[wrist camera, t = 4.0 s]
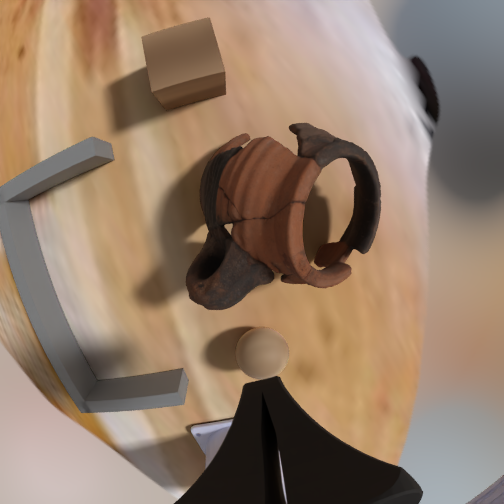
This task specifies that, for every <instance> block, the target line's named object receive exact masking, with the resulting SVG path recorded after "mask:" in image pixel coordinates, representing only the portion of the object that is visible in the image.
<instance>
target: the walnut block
mask: <svg viewBox="0 0 504 504" xmlns="http://www.w3.org/2000/svg"><path fill="white" fill-rule="evenodd" d="M142 42H143V48H144V54H145V60H146V65H147V71H148V76H149V81H150V86H151V91H152V93H153V94H154V96H155V97H156V98H157V99H158V101H159V102H160V103H161V104H162V106H163V107H164V108H165V110H166V111H167V110H170V109H173V108H177V107H180V106H183V105H187V104H190V103H194V102H197V101H201V100H205V99H209V98H213V97H217V96H221V95H225V94H226V81H225V69H224V65H223V62H222V58H221V55H220V51H219V48H218V44H217V41H216V37H215V34H214V30H213V27H212V23H211V20H210V18H205V19H201V20H197V21H193V22H189V23H185V24H181V25H177V26H174V27H170V28H167V29H164V30H160V31H157V32H154V33H151V34H148V35H145V36H142Z"/></svg>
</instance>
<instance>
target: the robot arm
mask: <svg viewBox="0 0 504 504" xmlns="http://www.w3.org/2000/svg"><path fill="white" fill-rule="evenodd" d="M191 433H192V434H193V436H194V438H195V439H196V441H197V443H198V444H199V446H200V447H201V449H202V451H203V452H204V454H205V455H206V464H205V471H204V472H203V473H202V475H201V476H200V477H199V478H198V480H197V481H196V482H195V483H194V484H193V485H192V486H191V487H190V488H189V489H188V490H187V492H186V493H185V494H184V495H183V496H182V497H181V498H180V499H179V500H178V501H176V502H175V503H174V504H419V502H420V500H421V498H422V495H423V491H422V489H421V487H420V486H419V484H418V483H417V482H416V481H415V480H414V479H413V478H412V477H411V476H410V475H409V474H408V473H407V472H406V471H405V470H404V469H403V468H401V467H398V466H395V465H392V464H389V463H386V462H384V461H381V460H378V459H376V458H374V457H371V456H369V455H367V454H365V453H363V452H361V451H359V450H357V449H355V448H353V447H352V446H350V445H348V444H346V443H344V442H343V441H341V440H340V439H338V438H337V437H335V436H334V435H332V434H331V433H330V432H328V431H327V430H325V429H324V428H323V427H322V426H320V425H319V424H318V423H317V422H316V421H315V420H314V419H312V418H311V417H310V416H309V415H308V414H307V413H306V412H305V411H304V410H303V409H302V408H301V407H300V405H299V404H298V403H297V402H296V401H295V400H294V399H293V397H292V396H291V395H290V393H289V392H288V391H287V389H286V388H285V386H284V385H283V383H282V381H281V378H280V377H278V376H274V377H271V378H267V379H263V380H259V381H255V382H250V383H246V384H245V385H244V386H243V390H242V394H241V398H240V401H239V405H238V408H237V411H236V413H235V416H234V419H231V420H225V421H219V422H213V423H207V424H200V425H194V426H192V427H191ZM197 433H200V434H197ZM466 504H504V475H503V476H502V477H501V478H499V479H498V480H497V481H496V482H495V483H494V484H492V485H491V486H489V487H488V488H487V489H486V490H484V491H483V492H482V493H481V494H479V495H478V496H476V497H475V498H473V499H472V500H471V501H469V502H468V503H466Z"/></svg>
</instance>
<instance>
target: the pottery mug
mask: <svg viewBox="0 0 504 504" xmlns="http://www.w3.org/2000/svg"><path fill="white" fill-rule="evenodd" d="M289 129H290V131H291V132H292V133H294V134H296V135H297V141H298V156H296V155H294V154H293V153H292V152H291V151H290V150H289V149H288V148H286V147H284V146H283V145H282V144H280V143H279V142H277V141H275V140H274V139H273V138H271V137H269V136H267V137H262V138H256V139H253V140H252V141H251V142H250V143H248V145H247V146H246V147H245V148H242V147H241V145H243V144H244V143H246V142H248V141H249V140H250V136H249V135H248V134H246V133H245V134H241V135H239V136H237V137H235V138H233V139H232V140H230V141H229V142H228V143H226V144H225V145H223V146H222V147H221V148H220V149H219V150H218V151H217V152H216V153H215V154H214V155H213V157H212V158H211V160H210V161H209V162H208V164H207V166H206V168H205V170H204V173H203V176H202V179H201V185H200V203H201V206H202V210H203V213H204V216H205V220H206V225H207V227H208V230H209V232H208V234H207V239H206V242H205V244H204V246H203V248H202V250H201V252H200V253H199V254H198V256H197V257H196V258H195V260H194V261H193V263H192V264H191V266H190V268H189V270H188V273H187V276H186V286H187V289H188V291H189V297H190V299H191V300H192V301H194V302H195V303H197V304H199V305H202V306H204V307H205V308H206V309H209V310H223V309H227V308H230V307H232V306H234V305H235V304H237V303H238V302H240V301H241V300H242V299H243V298H244V297H245V296H246V295H247V294H248V293H249V292H250V291H251V290H252V289H254V288H255V287H257V286H259V285H262V284H268V283H271V282H272V281H273V279H274V273H273V272H272V270H273V271H275V272H277V273H283V275H282V276H281V281H282V282H284V283H290V284H308V285H312V286H314V287H318V288H327V287H332V286H334V285H337V284H339V283H341V282H342V281H344V280H345V279H347V278H348V277H349V276H350V274H351V267H350V266H349V265H348V264H345V263H344V262H345V261H346V260H347V258H348V257H349V255H350V254H351V252H352V250H353V249H356V250H358V251H359V252H360V253H362V254H365V253H367V252H368V251H369V249H370V248H371V245H372V243H373V240H374V238H375V234H376V231H377V228H378V223H379V219H380V211H381V200H380V197H381V190H380V187H381V185H380V182H379V178H378V172H377V170H376V167H375V165H374V162H373V160H372V159H371V157H370V156H369V155H368V153H367V152H366V151H364V150H363V149H362V148H361V147H359V146H357V145H355V144H354V143H352V142H348V141H345V140H341V139H339V138H335V137H334V136H333V135H331V134H329V133H328V132H327V131H325V130H322V129H318V128H316V127H314V126H312V125H310V124H308V123H297V124H292V125H290V126H289ZM338 158H346V159H347V160H348V161H349V164H350V167H351V171H352V174H353V177H354V181H355V183H356V186H355V187H354V209H353V216H352V218H351V221H350V223H349V225H348V227H347V229H346V230H345V232H344V234H343V236H342V237H341V239H340V241H339V242H332V243H327V244H323V245H322V246H321V247H320V248H319V250H318V252H317V254H316V257H315V259H314V263H315V264H316V265H317V266H318V267H326V268H324V269H322V270H316V269H315V268H313V267H312V266H311V265H310V263H309V261H308V260H307V257H306V253H305V250H304V244H303V233H302V231H303V217H304V211H305V203H306V201H307V199H308V196H309V193H310V191H311V189H312V187H313V185H314V182H315V181H316V179H317V177H318V176H319V174H320V173H321V170H322V168H323V167H325V166H327V165H328V164H329V163H330V162H332V161H333V160H335V159H338ZM231 223H232V224H233V228H232V231H231V235H230V234H229V232H228V231H227V229H226V228H225V227H224V225H225V224H231Z"/></svg>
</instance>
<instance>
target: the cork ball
mask: <svg viewBox="0 0 504 504" xmlns="http://www.w3.org/2000/svg"><path fill="white" fill-rule="evenodd" d="M235 356H236V361H237V364H238V366H239V367H240V369H241V370H242V371H243V372H244V373H245V374H246V375H248V376H250V377H252V378H255V379H267V378H271V377H274V376H276V375H278V374H279V373H280V372H282V371H283V369H284V368H285V366H286V365H287V363H288V359H289V347H288V344H287V342H286V340H285V338H284V337H283V336H282V335H281V334H280V333H279V332H277V331H276V330H274V329H271V328H267V327H258V328H254V329H251V330H249V331H247V332H246V333H245V334H244V335H243V336H242V337H241V338H240V339H239V341H238V343H237V346H236V351H235Z"/></svg>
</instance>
